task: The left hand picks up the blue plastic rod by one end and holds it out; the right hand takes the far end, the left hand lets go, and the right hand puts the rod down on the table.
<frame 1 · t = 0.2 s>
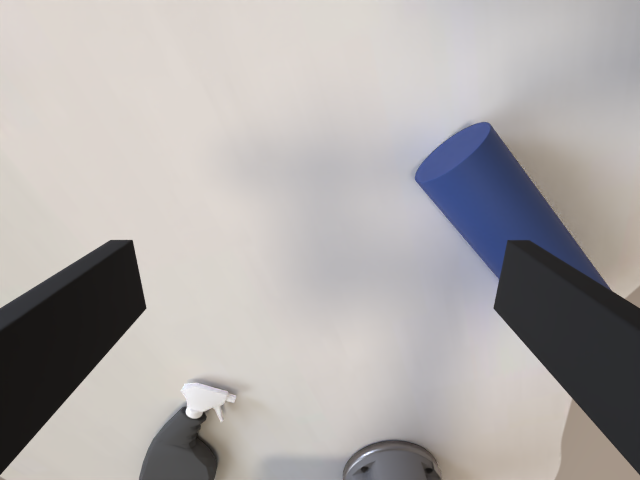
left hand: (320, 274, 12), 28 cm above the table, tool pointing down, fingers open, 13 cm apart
rod: (497, 224, 41), on the table
spray bottle: (190, 439, 53), on the table
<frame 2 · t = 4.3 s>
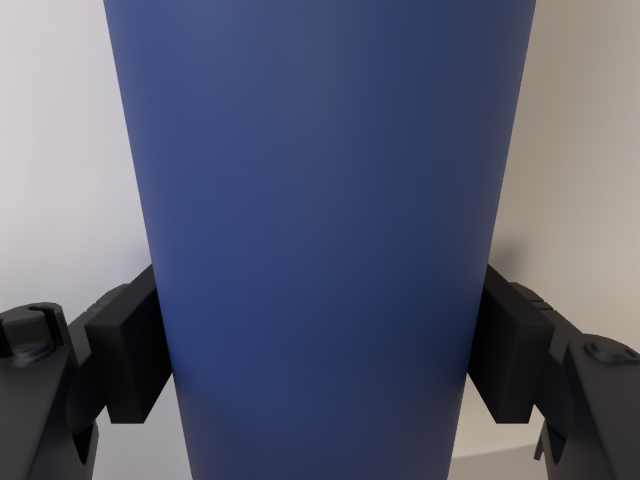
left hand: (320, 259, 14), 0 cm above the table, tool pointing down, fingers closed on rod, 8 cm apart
rod: (319, 31, 11), on the table, touching left hand
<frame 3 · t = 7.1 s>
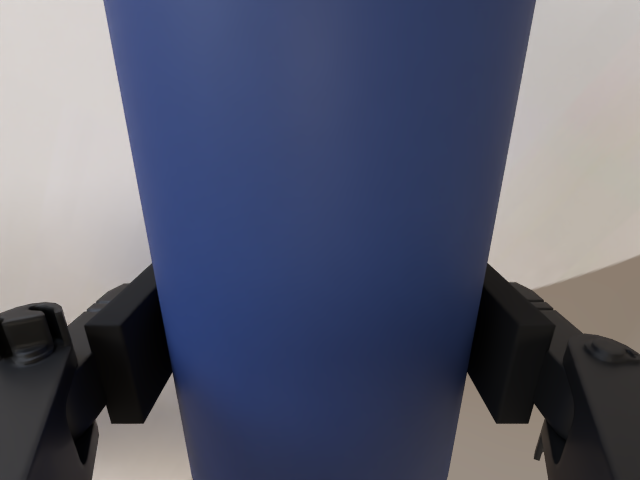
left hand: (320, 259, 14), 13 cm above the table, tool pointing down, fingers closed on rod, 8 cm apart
rod: (319, 31, 11), point 12 cm above the table, touching left hand
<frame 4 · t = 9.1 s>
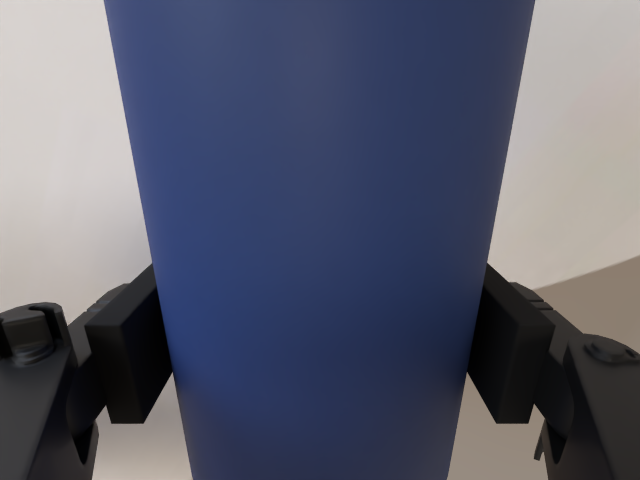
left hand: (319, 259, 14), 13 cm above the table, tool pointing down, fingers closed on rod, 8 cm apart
rod: (319, 31, 11), point 12 cm above the table, touching left hand, right hand
when the left hand's fingers open (13 cm above the table, at t = 10.0 s): rod stays where it is, held by the right hand.
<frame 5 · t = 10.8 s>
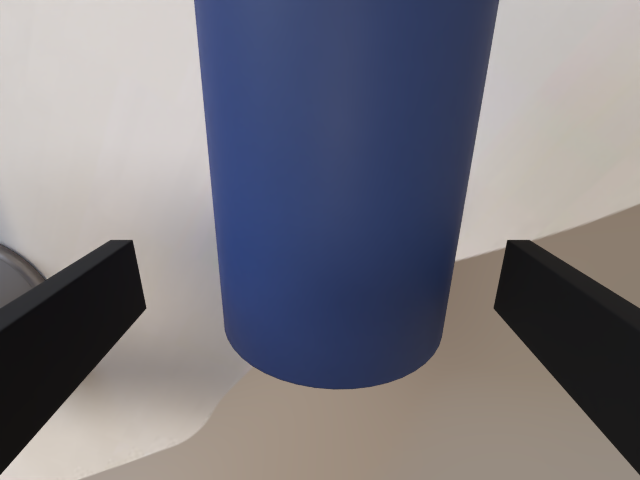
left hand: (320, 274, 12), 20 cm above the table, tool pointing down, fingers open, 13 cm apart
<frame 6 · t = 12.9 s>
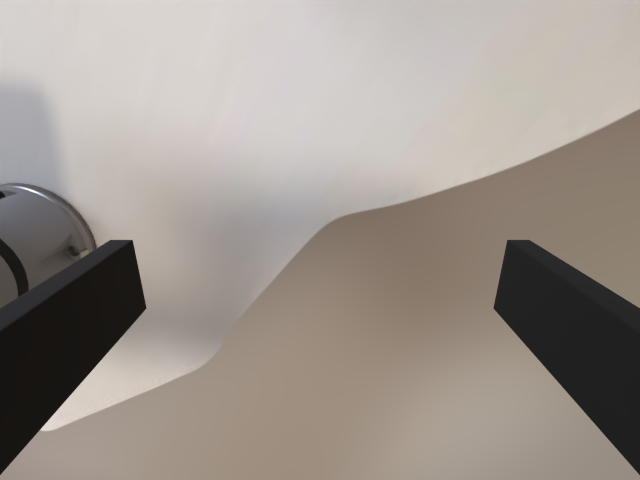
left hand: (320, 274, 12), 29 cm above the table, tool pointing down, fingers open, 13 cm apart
when the right hand's fingers open (2 cm above the table, at t = 14.6 s): rod drops 1 cm, on the table.
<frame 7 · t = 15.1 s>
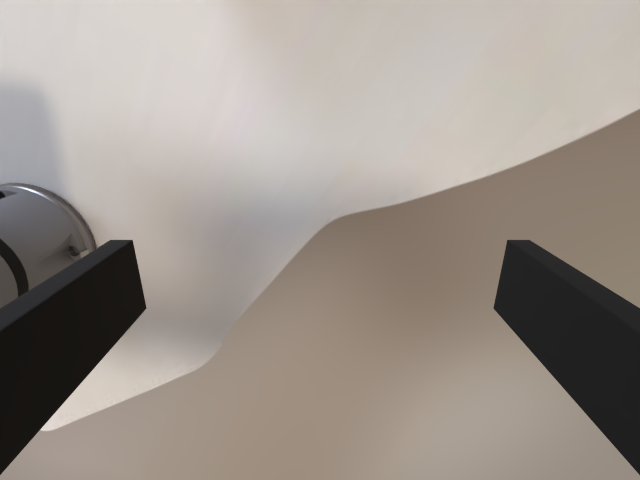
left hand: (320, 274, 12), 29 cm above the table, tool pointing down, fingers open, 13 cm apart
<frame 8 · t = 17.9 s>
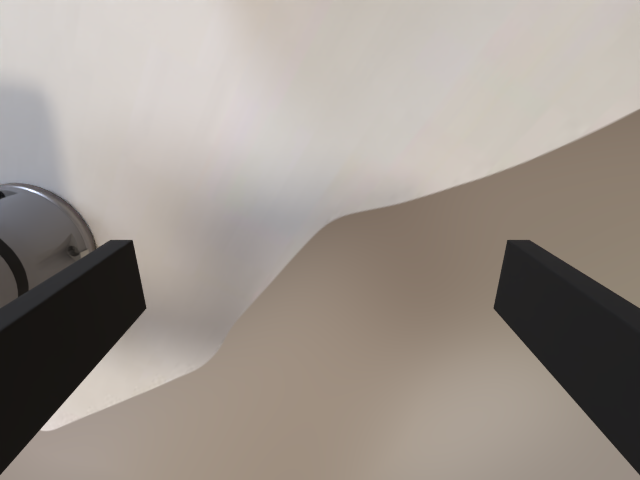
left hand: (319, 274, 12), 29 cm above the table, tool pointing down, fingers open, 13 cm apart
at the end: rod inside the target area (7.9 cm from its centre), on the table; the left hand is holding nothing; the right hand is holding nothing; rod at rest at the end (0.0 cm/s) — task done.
